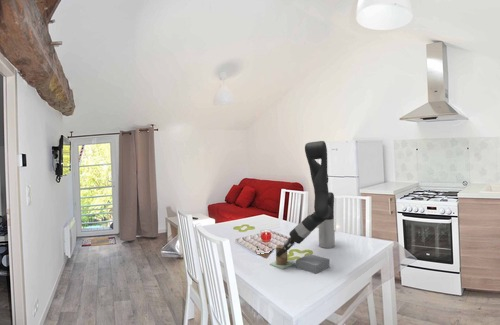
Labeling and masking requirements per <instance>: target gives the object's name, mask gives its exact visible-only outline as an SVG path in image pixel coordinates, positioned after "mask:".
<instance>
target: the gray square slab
mask: <svg viewBox="0 0 500 325" xmlns="http://www.w3.org/2000/svg"><path fill="white" fill-rule="evenodd" d="M330 265H331V264H330V258H326V257H324V256H323V257H322V256H319V255H315V254H312V253H309V254H307V255H304V256H302V257H299V258H296V260H295V266H296V268H298V269H300V270H303V271H306V272H309V273H312V274H314V275H315V274H318V273H320V272H322V271H324V270H326V269H328V268H330Z"/></svg>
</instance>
